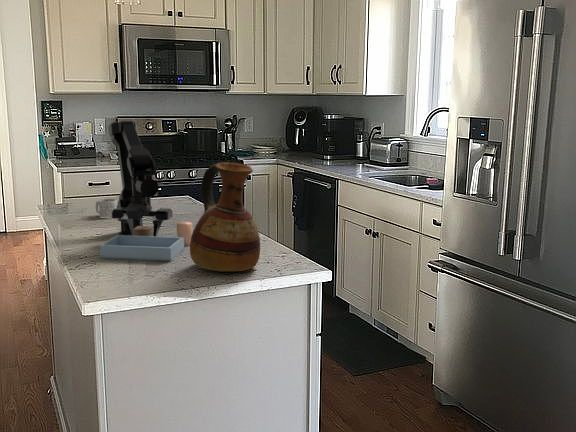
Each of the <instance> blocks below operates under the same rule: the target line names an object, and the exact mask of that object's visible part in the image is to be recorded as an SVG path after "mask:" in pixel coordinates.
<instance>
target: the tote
mask: <svg viewBox="0 0 576 432" xmlns="http://www.w3.org/2000/svg"><path fill="white" fill-rule="evenodd" d="M184 250H185V246H184V237H177V236H160V235H159V236H158V235H157V236H132V235H129V234H124V235H123V234H116V235H115V236H112V238H110V239H108V240H107V241H105V242H102V243H101V244H99V257H100V259H101V260H123V261H124V260H127V261H146V262H147V261H152V262H172V261H173V260H175V258H177V257H178V256H179V255H180V254H181V253H183V251H184Z"/></svg>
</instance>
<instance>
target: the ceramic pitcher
mask: <svg viewBox="0 0 576 432" xmlns="http://www.w3.org/2000/svg"><path fill="white" fill-rule="evenodd" d="M253 169H254V168H252V167H251V166H249V165H246V164H244V163H240V162H239V163H238V162H232V161H231V162H229V161H227V162H225V161H220V162H218V163H214V164H212V165H211V166H209V167H208V168H207V169H206V170H205V172H204V173H203V177H202V180H201V184H200V194H201V198H202V203H203V211H204V212H203V214H202V215H201V216H200V218H199V220H198V221H197V223H196V224H195V226H194V228H193V229H192V230H193V233H192V236H191V241H190V246H189V255H190V258H191V260H192V261H193V263H194V264H195V265H196V266H198V267H199V268H202V269H204V270H207V271H215V272H220V273H222V272H225V273H227V272H228V273H229V272H231V273H232V272H234V273H235V272H242V271H246V270H251V269H253V268H254V267H255V266H256V265H257V264H258V262H259V260H260V254H261V238H260V234H259V228H258V226H257V223H256V220H255V219H254V217H253V216H252V214H251V213H250V212H249V211H248V210H247V209H246V208H245V206H244V203H243V193H244V187H245V183H246V180H247V178H248V177H249V175H251V173H253V172H254V170H253ZM218 173H219V175H220V177H221V178H220V179H221V193H220V196H219V199H218V201H217V203H215V200H214V195H213V183H214V180H215V178H216V176H217V174H218Z"/></svg>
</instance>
